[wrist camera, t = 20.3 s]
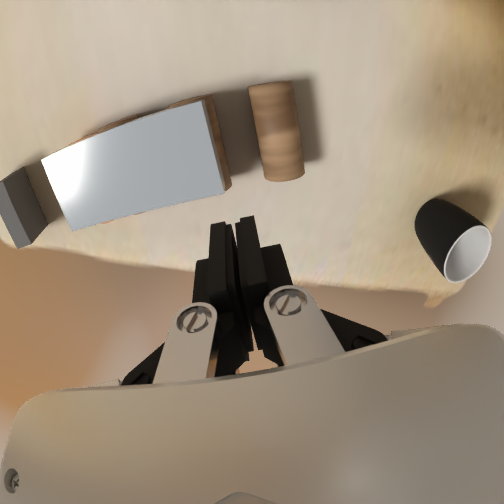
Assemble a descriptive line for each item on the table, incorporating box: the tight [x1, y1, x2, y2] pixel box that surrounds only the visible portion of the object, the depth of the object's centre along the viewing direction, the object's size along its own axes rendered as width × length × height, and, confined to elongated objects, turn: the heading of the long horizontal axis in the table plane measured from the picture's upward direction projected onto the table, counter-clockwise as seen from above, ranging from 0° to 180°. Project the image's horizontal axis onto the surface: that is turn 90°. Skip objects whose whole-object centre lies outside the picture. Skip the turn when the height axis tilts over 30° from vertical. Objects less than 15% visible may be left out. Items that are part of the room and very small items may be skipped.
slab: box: [42, 99, 225, 231], centre depth 27 cm, size 18×9×2 cm, turn 101°
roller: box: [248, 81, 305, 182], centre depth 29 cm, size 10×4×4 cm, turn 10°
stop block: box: [0, 167, 48, 249], centre depth 30 cm, size 3×9×5 cm, turn 10°
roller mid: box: [169, 94, 232, 191], centre depth 29 cm, size 10×4×4 cm, turn 10°
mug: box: [415, 199, 492, 283], centre depth 35 cm, size 12×9×10 cm
